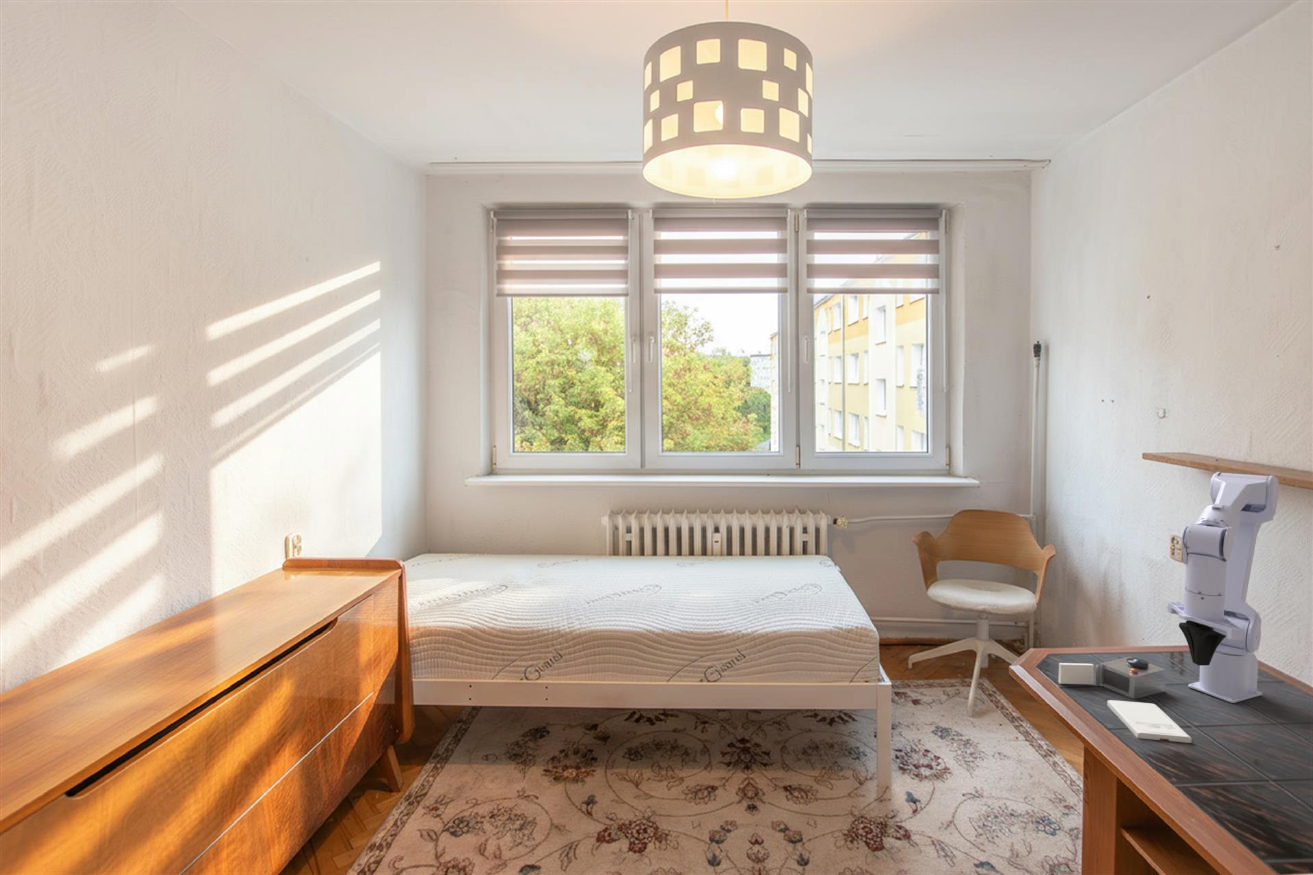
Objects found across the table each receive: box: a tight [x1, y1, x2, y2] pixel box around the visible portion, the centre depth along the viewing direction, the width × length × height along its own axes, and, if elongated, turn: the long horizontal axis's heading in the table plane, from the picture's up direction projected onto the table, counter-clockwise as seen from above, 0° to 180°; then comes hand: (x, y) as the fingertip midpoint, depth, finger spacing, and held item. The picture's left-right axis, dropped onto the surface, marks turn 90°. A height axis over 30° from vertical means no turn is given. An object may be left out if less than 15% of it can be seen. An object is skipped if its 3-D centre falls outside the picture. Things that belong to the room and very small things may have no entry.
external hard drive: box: [1106, 699, 1192, 744], centre depth 122 cm, size 2×8×12 cm
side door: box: [1057, 662, 1101, 686], centre depth 138 cm, size 1×8×4 cm, turn 86°
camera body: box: [1099, 656, 1167, 700], centre depth 136 cm, size 9×7×6 cm
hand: (1201, 663), depth 124 cm, fingers closed
